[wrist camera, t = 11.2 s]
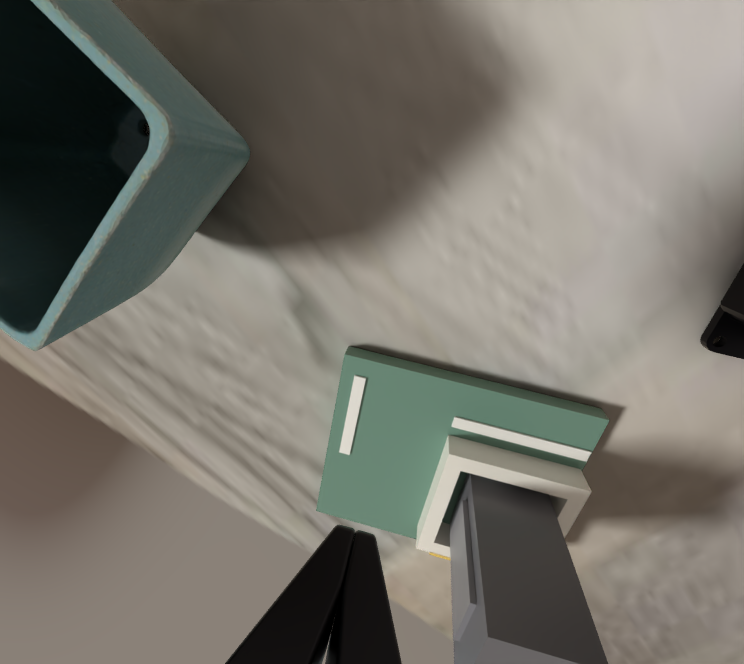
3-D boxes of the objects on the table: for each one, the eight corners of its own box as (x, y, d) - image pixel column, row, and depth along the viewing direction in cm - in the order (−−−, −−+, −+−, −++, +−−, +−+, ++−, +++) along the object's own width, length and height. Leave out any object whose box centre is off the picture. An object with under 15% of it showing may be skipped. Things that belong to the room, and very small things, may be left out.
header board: (601, 408, 19) (623, 440, 16) (524, 555, 23) (533, 596, 21) (348, 346, 20) (337, 367, 17) (320, 498, 24) (308, 531, 22)
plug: (546, 487, 19) (619, 696, 12) (520, 540, 21) (569, 755, 13) (464, 466, 20) (482, 655, 12) (445, 519, 21) (449, 718, 14)
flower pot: (148, -18, 15) (-195, -249, 7) (307, 152, 17) (178, 126, 8) (62, 154, 18) (-241, 135, 10) (201, 284, 20) (33, 359, 12)
